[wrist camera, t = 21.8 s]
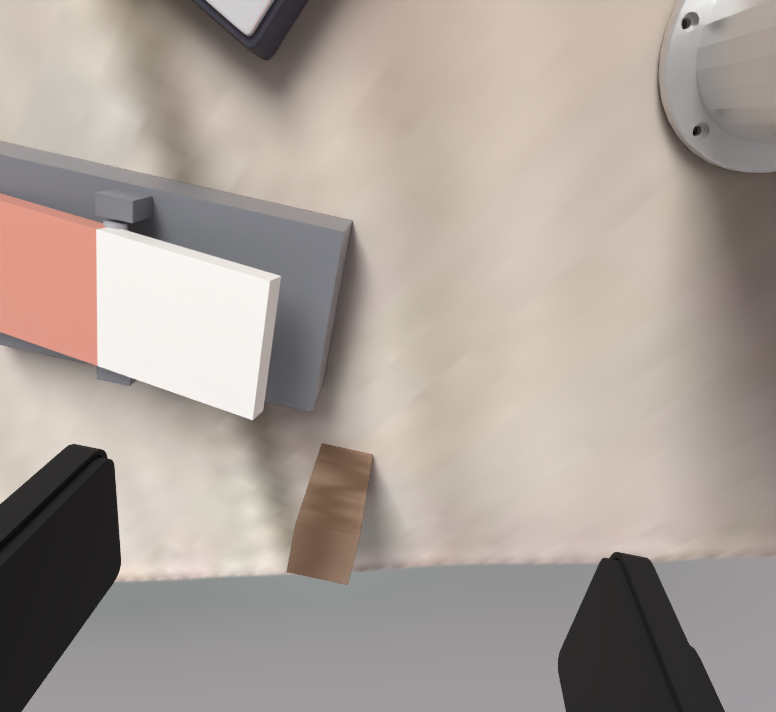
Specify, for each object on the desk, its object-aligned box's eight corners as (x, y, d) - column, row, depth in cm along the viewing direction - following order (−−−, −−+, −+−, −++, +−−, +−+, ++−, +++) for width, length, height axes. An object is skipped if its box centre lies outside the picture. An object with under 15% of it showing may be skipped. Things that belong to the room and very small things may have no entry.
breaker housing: (352, 220, 34) (337, 239, 28) (322, 385, 39) (305, 429, 33) (-23, 136, 33) (-115, 137, 28) (-7, 313, 38) (-82, 346, 32)
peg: (373, 454, 41) (359, 537, 33) (363, 495, 42) (347, 584, 34) (321, 443, 41) (295, 523, 32) (313, 485, 42) (286, 571, 34)
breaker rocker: (288, 269, 28) (270, 277, 26) (269, 407, 31) (252, 423, 29) (-23, 178, 31) (-58, 179, 29) (-10, 312, 34) (-41, 320, 33)
